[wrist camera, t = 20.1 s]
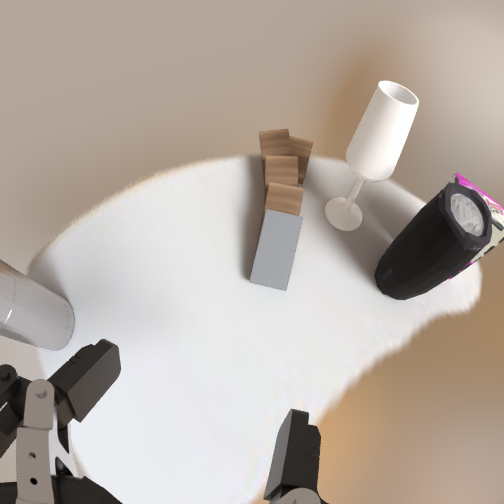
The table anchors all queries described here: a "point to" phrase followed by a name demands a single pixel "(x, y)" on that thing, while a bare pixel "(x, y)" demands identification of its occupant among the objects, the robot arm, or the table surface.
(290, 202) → the walnut domino
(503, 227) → the candy bar box
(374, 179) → the champagne flute
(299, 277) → the table surface
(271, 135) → the walnut domino
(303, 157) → the walnut domino
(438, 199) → the portable speaker
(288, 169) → the walnut domino
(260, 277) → the grey domino
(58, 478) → the robot arm
